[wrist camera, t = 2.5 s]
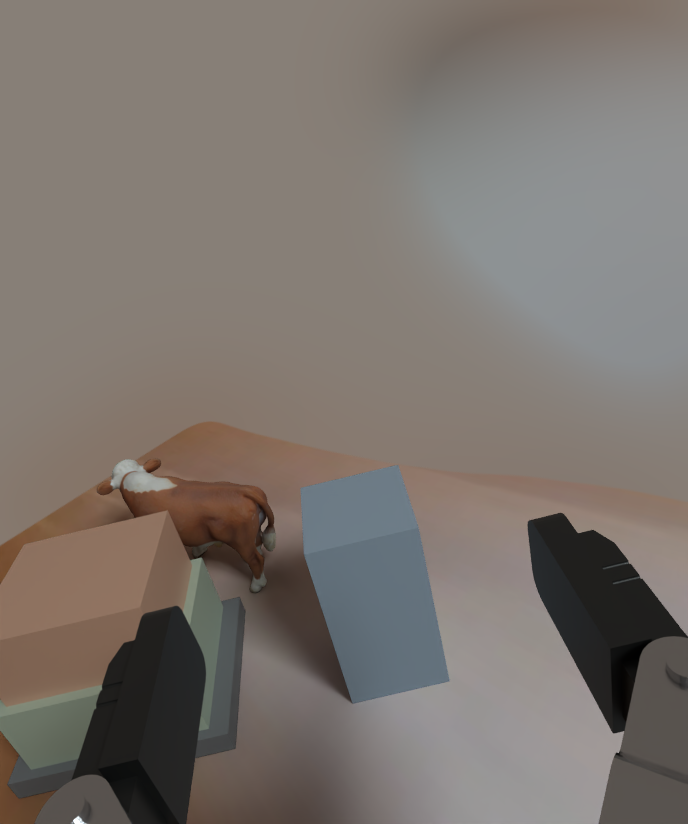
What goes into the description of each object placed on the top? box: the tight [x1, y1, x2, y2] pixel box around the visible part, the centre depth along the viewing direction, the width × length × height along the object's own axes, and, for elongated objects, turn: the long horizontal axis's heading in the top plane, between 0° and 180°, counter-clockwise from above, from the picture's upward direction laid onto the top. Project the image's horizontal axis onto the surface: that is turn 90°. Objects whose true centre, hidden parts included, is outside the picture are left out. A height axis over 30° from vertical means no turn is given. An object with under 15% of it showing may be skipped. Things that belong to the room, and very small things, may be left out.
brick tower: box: [0, 510, 245, 798], centre depth 31 cm, size 11×9×9 cm
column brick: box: [301, 465, 449, 703], centre depth 30 cm, size 5×5×10 cm
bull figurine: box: [97, 459, 276, 593], centre depth 40 cm, size 4×13×8 cm, turn 63°
